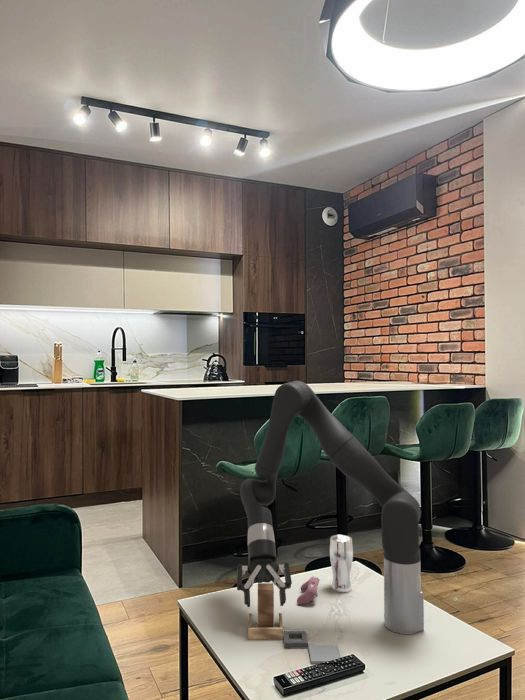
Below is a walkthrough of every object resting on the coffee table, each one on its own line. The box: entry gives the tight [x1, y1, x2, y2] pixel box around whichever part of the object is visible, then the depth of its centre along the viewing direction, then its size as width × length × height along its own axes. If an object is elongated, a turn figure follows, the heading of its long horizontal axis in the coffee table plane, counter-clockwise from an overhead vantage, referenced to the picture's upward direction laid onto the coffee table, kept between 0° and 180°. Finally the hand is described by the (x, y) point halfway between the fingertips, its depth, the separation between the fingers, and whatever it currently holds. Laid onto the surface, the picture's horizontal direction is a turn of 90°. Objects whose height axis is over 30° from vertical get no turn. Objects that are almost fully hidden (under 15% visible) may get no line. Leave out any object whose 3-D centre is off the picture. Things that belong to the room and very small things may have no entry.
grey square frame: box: [283, 630, 309, 649], centre depth 125 cm, size 6×6×1 cm
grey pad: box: [307, 644, 342, 665], centre depth 119 cm, size 7×7×1 cm
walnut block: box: [257, 582, 275, 627], centre depth 131 cm, size 4×4×11 cm
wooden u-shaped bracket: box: [247, 612, 284, 640], centre depth 130 cm, size 9×8×2 cm
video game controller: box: [296, 576, 321, 606], centre depth 149 cm, size 10×5×7 cm, turn 169°
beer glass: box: [329, 534, 354, 593], centre depth 156 cm, size 7×7×15 cm
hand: (265, 605), depth 130 cm, fingers open, 8 cm apart
